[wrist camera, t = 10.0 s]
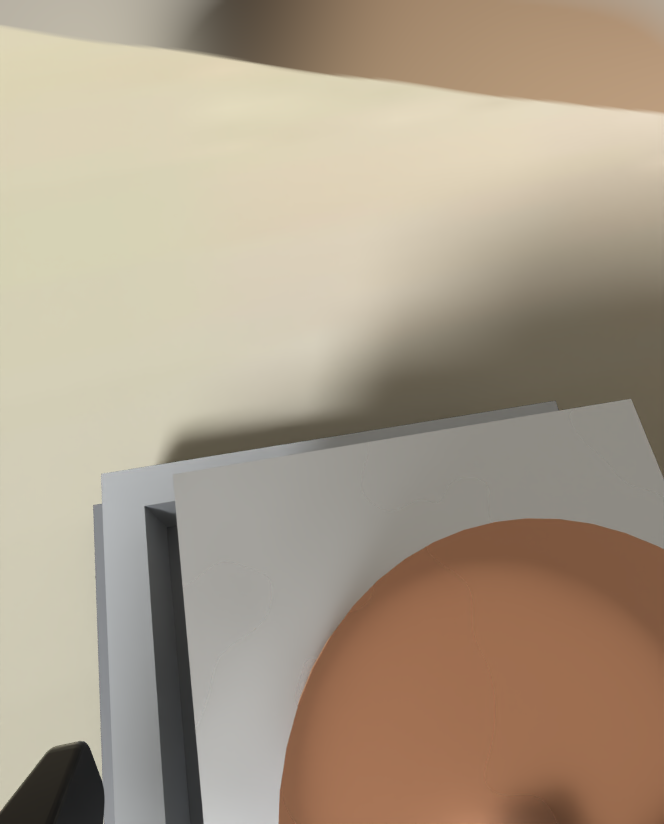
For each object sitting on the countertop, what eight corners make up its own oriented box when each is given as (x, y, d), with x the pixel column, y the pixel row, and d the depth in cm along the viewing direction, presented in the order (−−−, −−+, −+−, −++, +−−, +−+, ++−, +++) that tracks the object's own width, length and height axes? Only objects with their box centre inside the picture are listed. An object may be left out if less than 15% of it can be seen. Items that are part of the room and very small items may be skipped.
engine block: (524, 838, 14) (1354, 1513, 3) (293, 893, 14) (216, 1993, 2) (448, 548, 17) (737, 310, 6) (252, 585, 17) (123, 404, 5)
